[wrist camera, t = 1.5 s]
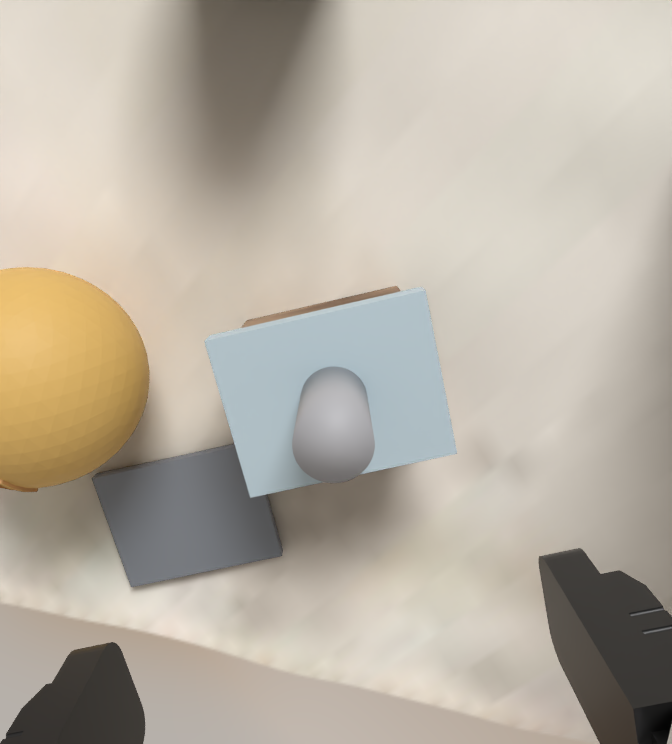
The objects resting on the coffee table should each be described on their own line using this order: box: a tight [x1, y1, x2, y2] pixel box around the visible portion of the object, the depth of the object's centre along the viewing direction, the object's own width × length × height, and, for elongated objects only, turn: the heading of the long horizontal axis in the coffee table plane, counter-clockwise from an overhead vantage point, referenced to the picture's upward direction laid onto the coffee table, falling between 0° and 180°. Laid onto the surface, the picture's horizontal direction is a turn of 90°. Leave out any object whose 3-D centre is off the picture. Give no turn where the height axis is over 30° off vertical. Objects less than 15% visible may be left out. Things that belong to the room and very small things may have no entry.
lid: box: [204, 287, 457, 498], centre depth 25 cm, size 9×7×7 cm
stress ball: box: [0, 267, 149, 492], centre depth 28 cm, size 10×10×10 cm
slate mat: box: [92, 444, 283, 587], centre depth 35 cm, size 9×7×1 cm
